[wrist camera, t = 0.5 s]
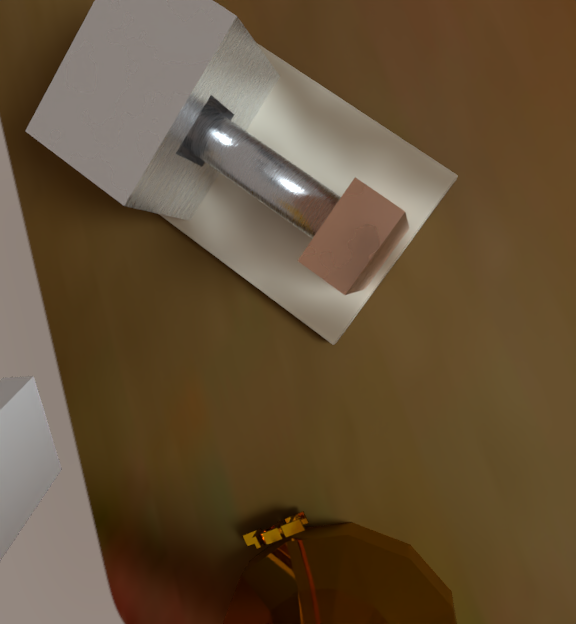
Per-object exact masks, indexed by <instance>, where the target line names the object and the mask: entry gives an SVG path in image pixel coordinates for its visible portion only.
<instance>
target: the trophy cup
mask: <svg viewBox="0 0 576 624" xmlns="http://www.w3.org/2000/svg"><path fill="white" fill-rule="evenodd" d="M285 521H286V523H287V524H284V523H283V521H282V520H280V521H278V522H277V524H276V525H274V526H271V527H269V528H266V529H264V530H262V529H261V528H260V529H257V530H254V531H252V532H249V533H247V534H244V535H243V537H244V540H245V542H246V544H247V546H249V545H252V544H254V543H255V546H256V548H260V547H261V546H262V544H263V543H264V545H266V544H270V543H273V542H275V541H276V542H275V543H273V544H272V545H271V546H269V547H268V548H267V549H265V550H264V551H262V552H261V553H260V554H258V555H257V556H256V557H254V558H253V559H252V560H250V561H249V563H248V565H247V566H246V568H245V570H244V571H243V573H242V575H241V577H240V580H239V583H238V585H237V588H236V590H235V593H234V596H233V598H232V601H231V603H230V606H229V609H228V611H227V614H226V617H225V619H224V622H223V624H457V619H456V614H455V608H454V603H453V597H452V591H451V590H450V589H449V588H448V587H447V586H446V585H445V584H444V582H443V581H442V580H441V579H440V578H439V577H438V576H437V574H436V573H435V572H434V571H433V570H432V569H431V568H430V567H429V565H428V564H427V563H426V562H425V561H424V560H423V559H422V557H421V556H420V555H419V554H418V553H417V552H416V551H415V550H414V548H413V547H412V546H411V545H410V544H407V543H404V542H402V541H399V540H397V539H394V538H391V537H389V536H386V535H383V534H381V533H378V532H376V531H373V530H370V529H368V528H365V527H362V526H360V525H357V524H355V523H352V522H350V523H341V524H333V525H324V526H315V527H307V528H304V526H303V524H306V523H308V520H307V518H306V516H305V514H304V511H302V512H300V513H297V514H295V515H292V516H290V517H287V518H285Z"/></svg>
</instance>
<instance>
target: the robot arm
mask: <svg viewBox="0 0 576 624" xmlns="http://www.w3.org/2000/svg"><path fill="white" fill-rule="evenodd" d="M61 470H62V468H61V465H60V462H59V458H58V455H57V452H56V449H55V446H54V442H53V439H52V435H51V432H50V429H49V425H48V422H47V419H46V415H45V412H44V409H43V405H42V402H41V399H40V396H39V393H38V389H37V386H36V382H35V379H34V377H33V376H28V377H10V378H2V379H1V380H0V561H1V559H2V558H3V556H4V555H5V553H6V552H7V550H8V549H9V547H10V546H11V544H12V543H13V541H14V540H15V538H16V537H17V535H18V534H19V532H20V531H21V529H22V528H23V526H24V525H25V523H26V522H27V520H28V519H29V517H30V516H31V514H32V513H33V511H34V510H35V508H36V507H37V505H38V504H39V502H40V501H41V500H42V498H43V496H44V495H45V494H46V492H47V491H48V489H49V488H50V486H51V484H52V483H53V482H54V480H55V478H56V477H57V476H58V474H59V473H60V471H61Z"/></svg>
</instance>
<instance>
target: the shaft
mask: <svg viewBox="0 0 576 624" xmlns="http://www.w3.org/2000/svg"><path fill="white" fill-rule="evenodd" d="M181 145H182V146H183V147H185V148H186V149H188V150H189V151H190V152H192V153H193V154H195V155H196V156H197V157H199V158H200V159H202V160H203V161H204V162H206V163H207V164H209V165H210V166H211V167H213V168H214V169H216V170H217V171H218V172H220V173H221V174H223V175H224V176H225V177H227V178H228V179H229V180H231V181H232V182H234V183H235V184H236V185H238V186H239V187H241V188H242V189H243V190H245V191H246V192H248V193H249V194H250V195H252V196H253V197H255V198H256V199H257V200H259V201H260V202H262V203H263V204H264V205H266V206H267V207H269V208H270V209H271V210H273V211H274V212H276V213H277V214H278V215H280V216H281V217H283V218H284V219H285V220H287V221H288V222H289V223H291V224H292V225H294V226H295V227H296V228H298V229H299V230H301V231H302V232H303V233H305V234H306V235H308V236H309V237H310V238H312V240H311V242H310V243H309V245H308V246H307V247H306V249H305V250H304V252H303V253H302V255H301V256H300V258H299V259H298V262H300V263H301V264H303V265H304V266H305V267H307V268H308V269H309V270H311V271H312V272H314V273H315V274H316V275H318V276H319V277H320V278H322V279H323V280H325V281H326V282H327V283H329V284H330V285H331V286H333V287H334V288H336V289H337V290H338V291H340V292H341V293H342V294H344V295H347V294H351V293H354V292H358V291H361V290H364V289H366V287H367V286H368V285H369V283H370V282H371V280H372V279H373V278H374V276H375V275H376V274H377V272H378V271H379V270H380V268H381V267H382V265H383V264H384V263H385V261H386V260H387V259H388V257H389V256H390V254H391V253H392V252H393V250H394V249H395V248H396V246H397V245H398V244H399V242H400V241H401V239H402V238H403V237H404V235H405V234H406V233H407V231H408V230H409V224H408V220H407V216H406V212H405V211H404V210H402V209H401V208H399V207H398V206H397V205H395V204H394V203H392V202H391V201H389V200H388V199H386V198H385V197H383V196H382V195H380V194H379V193H378V192H376V191H375V190H373V189H372V188H370V187H369V186H367V185H366V184H364V183H363V182H361V181H360V180H359V179H357V178H356V177H355V178H354V179H353V181H352V182H351V184H350V185H349V186H348V188H347V189H346V191H345V192H344V194H343V195H342V197H340V196H339V195H337V194H336V193H335V192H333V191H332V190H330V189H329V188H327V187H326V186H325V185H323V184H322V183H320V182H319V181H317V180H316V179H314V178H313V177H312V176H310V175H309V174H307V173H306V172H304V171H303V170H301V169H300V168H299V167H297V166H296V165H294V164H293V163H291V162H290V161H289V160H287V159H286V158H284V157H283V156H281V155H280V154H278V153H277V152H276V151H274V150H273V149H271V148H270V147H268V146H267V145H265V144H264V143H263V142H261V141H260V140H258V139H257V138H255V137H254V136H252V135H251V134H250V133H248V132H247V131H245V130H244V129H242V128H241V127H240V126H238V125H237V124H235V123H234V122H232V121H231V120H229V119H228V118H227V117H225V116H224V115H222V114H221V113H219V112H218V111H216V110H215V109H214V108H212V107H211V106H209V105H208V104H205V106H204V107H203V109H202V111H201V112H200V114H199V116H198V117H197V119H196V121H195V122H194V124H193V126H192V127H191V129H190V131H189V132H188V134H187V136H186V137H185V139H184V141H183V142H182V144H181Z"/></svg>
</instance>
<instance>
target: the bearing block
mask: <svg viewBox="0 0 576 624" xmlns="http://www.w3.org/2000/svg"><path fill="white" fill-rule="evenodd" d="M279 78H280V76H279V74H278V73H277V72H276V70H275V69H274V67H273V66H272V65H271V63H270V62H269V60H268V59H267V58H266V56H265V55H264V53H263V52H262V51H261V49H260V48H259V46H258V45H257V44H256V42H255V41H254V39H253V38H252V37H251V35H250V34H249V32H248V31H247V30H246V28H245V27H244V25H243V24H242V23H241V21H240V20H239V18H238V17H237V16H236V15H234V14H233V13H231V12H230V11H228V10H227V9H225V8H224V7H222V6H221V5H219V4H217V3H216V2H214V1H213V0H95V1H94V3H93V5H92V7H91V9H90V10H89V12H88V14H87V16H86V18H85V20H84V22H83V24H82V25H81V27H80V29H79V31H78V33H77V35H76V37H75V39H74V40H73V42H72V44H71V46H70V48H69V50H68V52H67V54H66V55H65V57H64V59H63V61H62V63H61V65H60V67H59V69H58V71H57V72H56V74H55V76H54V78H53V80H52V82H51V84H50V86H49V87H48V89H47V91H46V93H45V95H44V97H43V99H42V101H41V102H40V104H39V106H38V108H37V110H36V112H35V114H34V116H33V117H32V119H31V121H30V123H29V125H28V127H27V129H26V132H27V133H28V134H30V135H31V136H32V137H34V138H35V139H36V140H38V141H39V142H40V143H41V144H43V145H44V146H45V147H47V148H48V149H49V150H51V151H52V152H53V153H55V154H56V155H57V156H59V157H60V158H61V159H63V160H64V161H65V162H67V163H68V164H69V165H71V166H72V167H73V168H75V169H76V170H77V171H78V172H80V173H81V174H82V175H84V176H85V177H86V178H88V179H89V180H90V181H92V182H93V183H94V184H96V185H97V186H98V187H100V188H101V189H102V190H104V191H105V192H106V193H108V194H109V195H110V196H112V197H113V198H114V199H115V200H117V201H118V202H119V203H121V204H122V205H123V206H126V207H131V208H135V209H140V210H144V211H149V212H153V213H157V214H162V215H166V216H171V217H175V218H179V219H184V220H188V221H190V220H191V218H192V216H193V215H194V213H195V212H196V210H197V208H198V207H199V205H200V204H201V202H202V201H203V199H204V197H205V196H206V194H207V193H208V191H209V189H210V188H211V186H212V185H213V183H214V181H215V180H216V178H217V177H218V175H219V173H220V172H218V171H217V170H216V169H214V168H213V167H211V166H210V165H209V164H207V163H206V162H204V161H203V160H202V159H200V158H199V157H197V156H196V155H195V154H193V153H192V152H190V151H189V150H188V149H186V148H185V147H183V146H182V145H181V144H182V142H183V141H184V139H185V137H186V136H187V134H188V132H189V131H190V129H191V127H192V126H193V124H194V122H195V121H196V119H197V117H198V116H199V114H200V112H201V111H202V109H203V107H204V106H205V104H208V105H209V106H211V107H212V108H214V109H215V110H216V111H218V112H219V113H221V114H222V115H224V116H225V117H227V118H228V119H229V120H231V121H232V122H234V123H235V124H237V125H238V126H240V127H241V128H242V129H244V130H245V131H246V130H247V129H248V127H249V126H250V124H251V123H252V121H253V119H254V118H255V116H256V115H257V113H258V111H259V110H260V108H261V107H262V105H263V103H264V102H265V100H266V99H267V97H268V95H269V94H270V92H271V91H272V89H273V87H274V86H275V84H276V83H277V81H278V80H279Z"/></svg>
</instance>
